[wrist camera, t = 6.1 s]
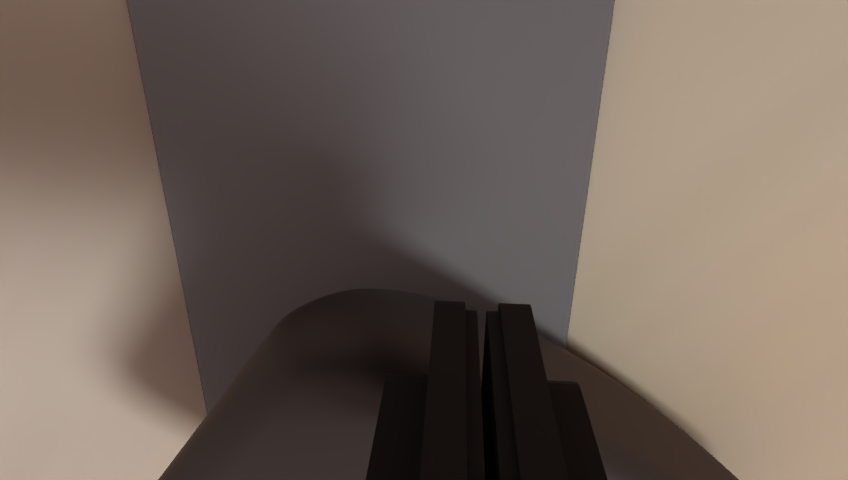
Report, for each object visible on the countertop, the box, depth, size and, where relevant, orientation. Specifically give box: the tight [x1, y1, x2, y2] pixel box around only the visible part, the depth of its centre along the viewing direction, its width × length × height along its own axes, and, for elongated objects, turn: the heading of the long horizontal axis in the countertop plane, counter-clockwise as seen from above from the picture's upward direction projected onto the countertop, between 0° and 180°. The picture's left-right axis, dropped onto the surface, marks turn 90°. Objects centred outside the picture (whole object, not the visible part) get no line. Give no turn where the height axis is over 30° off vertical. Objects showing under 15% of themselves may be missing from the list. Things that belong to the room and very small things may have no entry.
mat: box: [127, 0, 615, 414], centre depth 15 cm, size 11×16×1 cm
